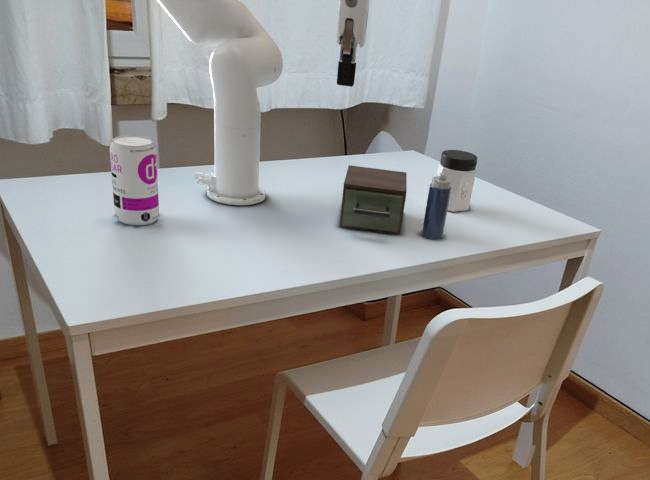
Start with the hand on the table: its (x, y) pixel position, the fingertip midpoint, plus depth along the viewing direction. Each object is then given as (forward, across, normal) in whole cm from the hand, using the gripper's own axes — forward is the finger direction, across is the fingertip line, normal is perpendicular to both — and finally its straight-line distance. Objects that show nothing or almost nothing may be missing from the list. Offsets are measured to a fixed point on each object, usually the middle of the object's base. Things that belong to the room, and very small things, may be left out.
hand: (345, 84), depth 126 cm
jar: (+27, +20, -26) cm, 43 cm away
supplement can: (+27, -12, +37) cm, 48 cm away
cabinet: (+27, +4, -8) cm, 29 cm away
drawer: (+26, 0, -8) cm, 27 cm away
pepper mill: (+27, -1, -21) cm, 34 cm away
